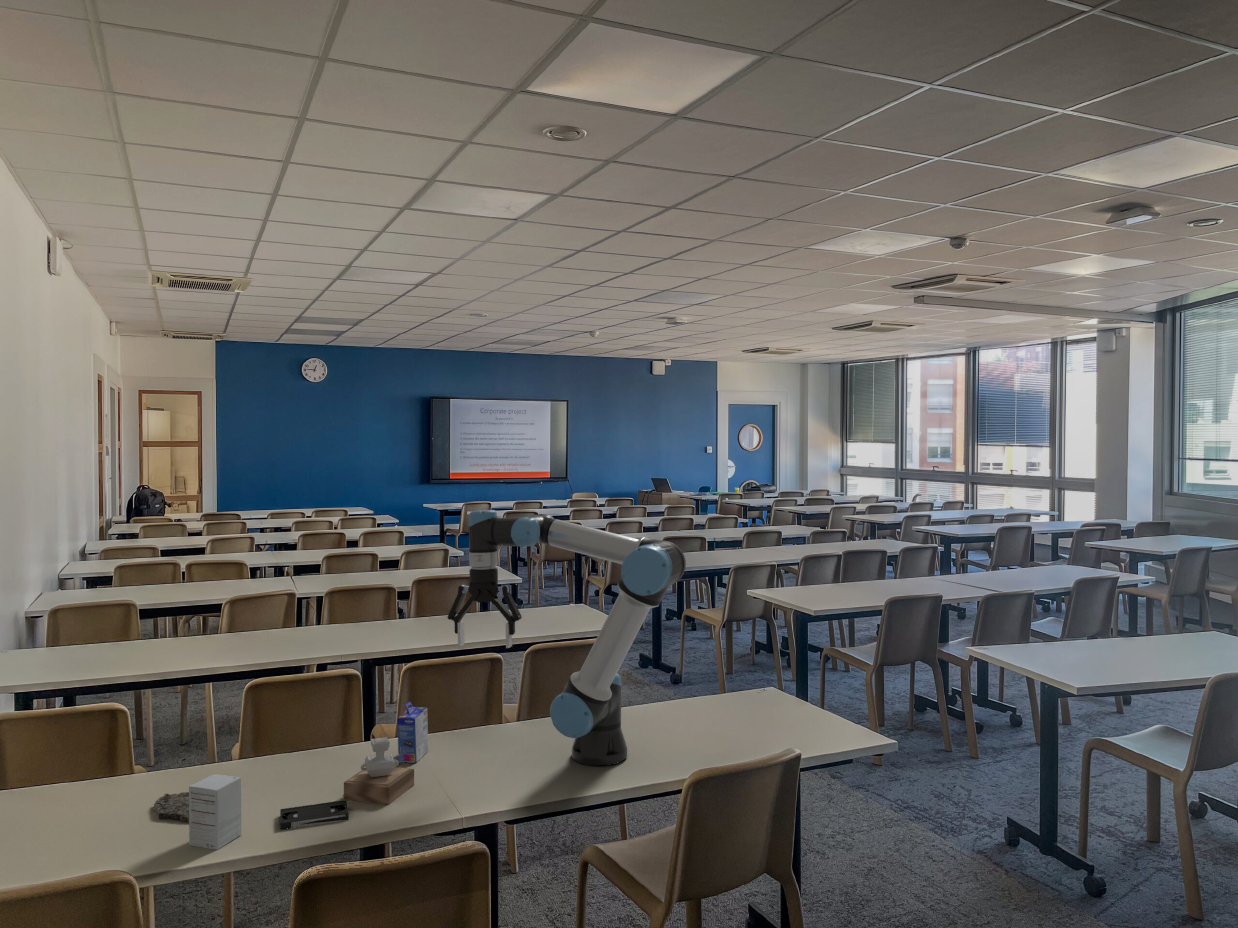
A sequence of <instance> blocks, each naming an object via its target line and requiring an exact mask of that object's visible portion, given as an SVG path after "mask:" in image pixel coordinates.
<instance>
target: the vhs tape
mask: <svg viewBox="0 0 1238 928" xmlns="http://www.w3.org/2000/svg"><path fill="white" fill-rule="evenodd" d="M338 808H339V809H340V810H342V808H345V809H344V810H343V811H339V810H338ZM279 811H280V812H279V813H280V816H279V817H280V818H279V822H280V823H279V827H280V829H279V830H280V831H283V830H284V831H285V830H290V829H291V828H292V829H296V827H298V828H303V827H302V826H305V827H312V826H318V825H323V824H330V823H331V822H332V823H336V822H335V821H338V822H343V821H344V820H345V821H349V808H348V800H347V799H343V800H336V801H329V802H321V803H316V804H307V805H306V804H305V805H299V806H292V807H286V808H280V810H279ZM283 817H286V819H284V818H283ZM287 828H288V829H287Z"/></svg>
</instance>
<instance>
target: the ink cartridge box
mask: <svg viewBox="0 0 1238 928" xmlns="http://www.w3.org/2000/svg"><path fill="white" fill-rule="evenodd" d="M404 707H405V709H406V710H404V712H403V713H401V715H399V716H398V717H397V719H396V721H397V723H396V724H397V726H396V727H397V749H398V750H397V752H398V754H397V755H398V756H397V757H398V761H399V763H405V762H407V763H408V764H417V763H418V762H419V761H420V760H421V759H422V758H423V757H424V755H425V754H427V752H428V751H429V731H428V727H429V726H428V724H429V723H428V707H427V706H426V707H425V706H423V707H421V706H413V704H412V702H411V701H408V702H407V703H406V704H405V705H404ZM407 763H406V764H407Z"/></svg>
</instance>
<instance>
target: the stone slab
mask: <svg viewBox="0 0 1238 928" xmlns="http://www.w3.org/2000/svg"><path fill="white" fill-rule="evenodd" d="M152 811H153V812H155V811H156V813H157V815H158V819H159V820H174V819H175V820H178V821H180V822H182V823H188V824H189V791H187V792H184V791H183V792H179V793H173V794H169V793H164V795H162V796H160V797H158V798H157V800H156V801H155V802H154V803H153V808H152Z"/></svg>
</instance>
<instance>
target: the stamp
mask: <svg viewBox="0 0 1238 928" xmlns="http://www.w3.org/2000/svg"><path fill="white" fill-rule="evenodd" d="M390 743H391V742H390V740H389V738H388V736H386V737H377V738H371V739H370V745H371V747H372V748H371V749H372V752H373V753H375V754H374V755H373V754H372V755H367V756H365V759H364V763H362V764H361V766H360V771H362V770H363V771H368V773H369V774H370V775H371V777H379V776H387V775H390V774H391V773H392V771H393V770H394V768H395V767H398V766H399V764H400V762H399V759H394V757H393V754H392V753H390V752H388V750H389V748H390ZM386 751H387V752H388V753H385V752H386Z"/></svg>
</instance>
